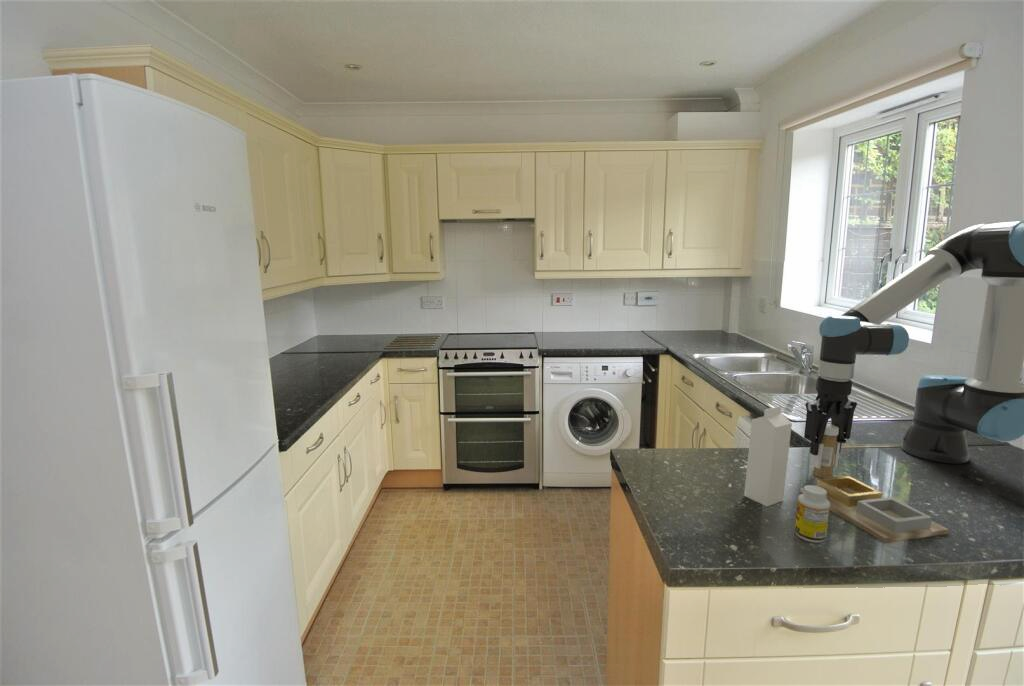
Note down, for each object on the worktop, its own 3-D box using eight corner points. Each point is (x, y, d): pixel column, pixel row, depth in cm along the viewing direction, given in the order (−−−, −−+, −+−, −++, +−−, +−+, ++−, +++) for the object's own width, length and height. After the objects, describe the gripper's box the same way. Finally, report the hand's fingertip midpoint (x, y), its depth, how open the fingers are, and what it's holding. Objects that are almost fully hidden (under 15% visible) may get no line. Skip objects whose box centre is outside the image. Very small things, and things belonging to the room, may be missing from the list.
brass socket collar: (847, 485, 124) (848, 475, 123) (881, 503, 115) (882, 492, 115) (816, 488, 122) (817, 479, 122) (848, 507, 113) (849, 496, 113)
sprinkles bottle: (835, 476, 131) (842, 426, 129) (827, 480, 129) (833, 429, 126) (817, 470, 135) (823, 421, 133) (808, 474, 133) (814, 424, 130)
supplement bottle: (797, 526, 107) (802, 480, 105) (827, 535, 103) (834, 488, 102) (791, 537, 103) (796, 489, 101) (822, 547, 99) (829, 498, 97)
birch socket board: (855, 486, 126) (855, 482, 126) (947, 533, 105) (948, 529, 105) (800, 492, 122) (800, 488, 122) (884, 542, 101) (885, 538, 101)
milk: (783, 501, 118) (794, 409, 114) (766, 507, 115) (777, 413, 111) (759, 490, 123) (769, 402, 119) (743, 495, 120) (752, 406, 116)
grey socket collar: (889, 507, 113) (891, 496, 113) (930, 528, 105) (932, 517, 104) (856, 511, 111) (857, 500, 111) (894, 533, 103) (896, 522, 102)
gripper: (850, 372, 133) (839, 457, 137) (793, 375, 129) (783, 462, 133) (876, 379, 126) (864, 468, 130) (817, 383, 122) (806, 474, 126)
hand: (823, 465), depth 131 cm, fingers closed on sprinkles bottle, 4 cm apart
